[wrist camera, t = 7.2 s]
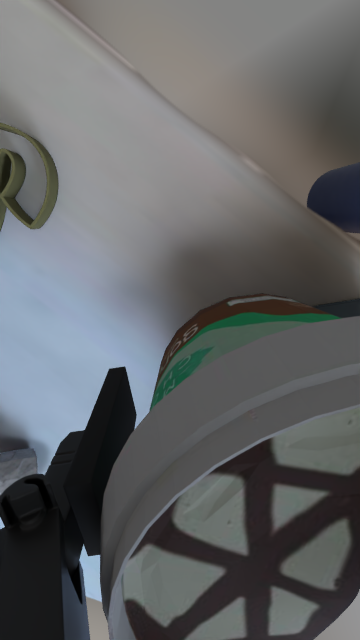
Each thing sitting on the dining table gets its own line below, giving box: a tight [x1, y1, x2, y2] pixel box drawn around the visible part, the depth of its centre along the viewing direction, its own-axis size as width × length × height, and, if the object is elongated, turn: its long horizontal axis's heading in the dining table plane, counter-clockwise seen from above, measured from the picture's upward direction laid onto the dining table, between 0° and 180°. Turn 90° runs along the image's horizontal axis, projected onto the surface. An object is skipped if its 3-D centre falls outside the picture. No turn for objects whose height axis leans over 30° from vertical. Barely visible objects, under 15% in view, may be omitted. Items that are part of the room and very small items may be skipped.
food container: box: [100, 294, 360, 640], centre depth 11 cm, size 12×6×10 cm, turn 166°
